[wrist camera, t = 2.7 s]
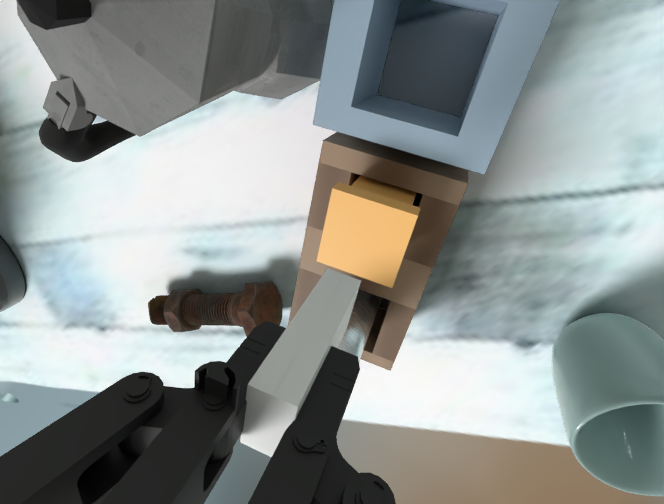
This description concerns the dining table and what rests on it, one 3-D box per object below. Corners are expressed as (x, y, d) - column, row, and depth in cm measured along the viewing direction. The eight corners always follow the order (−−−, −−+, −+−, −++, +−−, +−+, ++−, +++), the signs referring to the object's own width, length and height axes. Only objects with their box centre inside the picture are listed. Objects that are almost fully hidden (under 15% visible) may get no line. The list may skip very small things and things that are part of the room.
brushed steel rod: (340, 286, 35) (260, 431, 22) (349, 250, 33) (267, 385, 20) (381, 301, 35) (324, 460, 21) (393, 265, 32) (339, 416, 19)
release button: (346, 219, 29) (316, 261, 23) (361, 158, 26) (332, 188, 20) (407, 240, 28) (392, 288, 22) (429, 179, 25) (418, 215, 20)
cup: (684, 351, 28) (776, 479, 20) (581, 389, 32) (620, 508, 24) (620, 279, 27) (687, 380, 19) (522, 327, 31) (542, 428, 23)
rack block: (346, 109, 28) (312, 124, 22) (378, -42, 23) (347, -74, 17) (481, 147, 26) (484, 174, 20) (544, -7, 22) (572, -30, 16)
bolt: (176, 286, 45) (284, 281, 39) (176, 329, 45) (285, 331, 39) (132, 288, 40) (249, 282, 34) (132, 336, 39) (251, 340, 33)
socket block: (312, 291, 37) (286, 329, 31) (349, 124, 28) (323, 140, 23) (401, 324, 35) (390, 370, 30) (468, 159, 27) (468, 183, 22)
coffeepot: (285, -127, 23) (-78, -479, 8) (390, -2, 24) (254, -93, 9) (174, 75, 31) (-110, 97, 16) (256, 160, 32) (65, 258, 17)
